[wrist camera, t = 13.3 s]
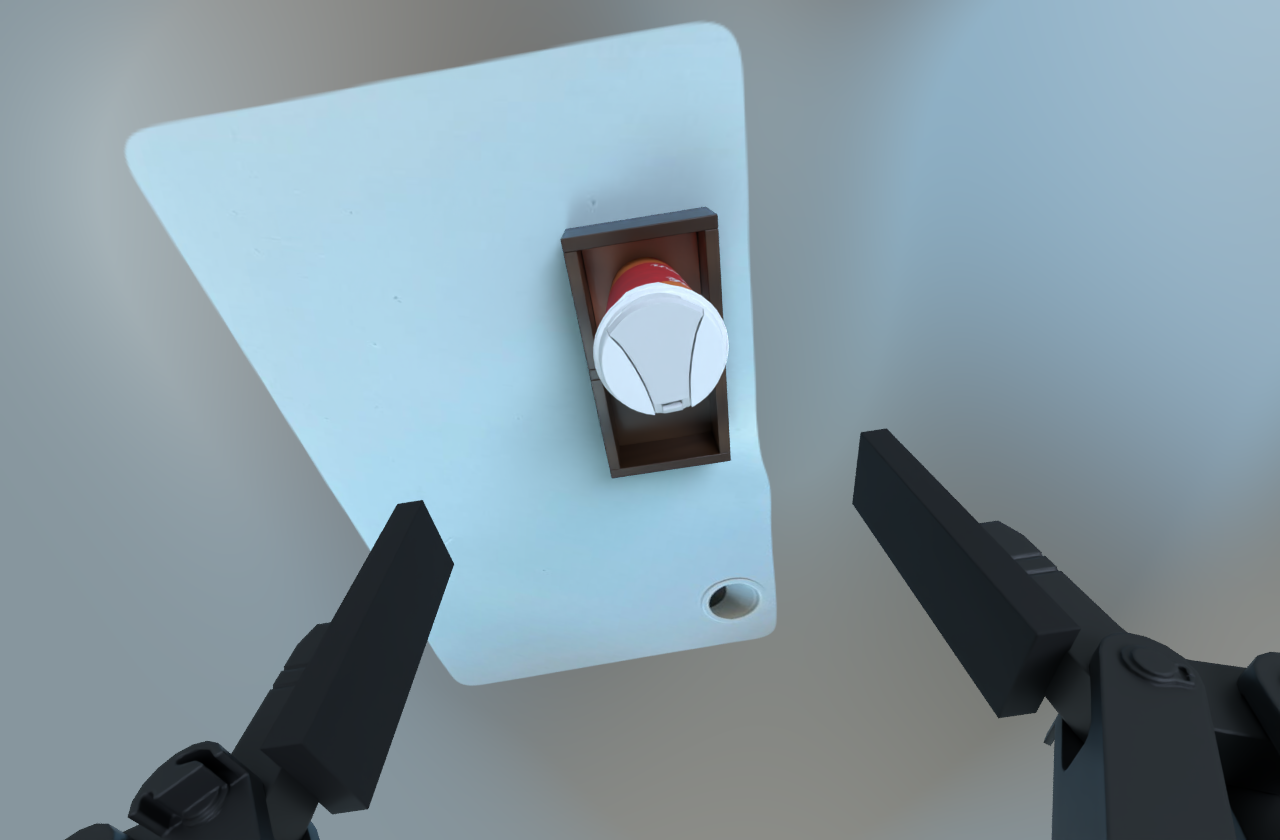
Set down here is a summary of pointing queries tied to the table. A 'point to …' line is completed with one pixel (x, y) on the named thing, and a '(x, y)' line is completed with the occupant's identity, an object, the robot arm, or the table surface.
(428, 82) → the table surface
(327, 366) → the table surface
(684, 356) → the coffee cup
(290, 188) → the table surface
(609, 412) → the cup holder
